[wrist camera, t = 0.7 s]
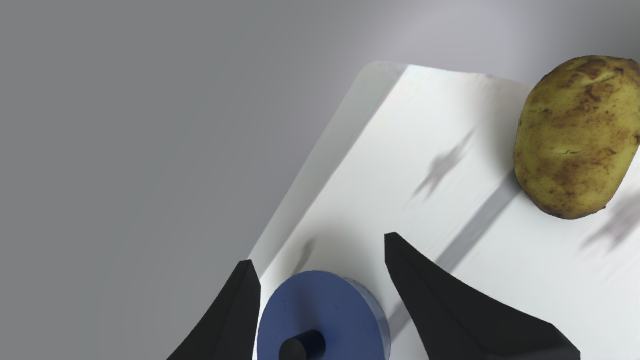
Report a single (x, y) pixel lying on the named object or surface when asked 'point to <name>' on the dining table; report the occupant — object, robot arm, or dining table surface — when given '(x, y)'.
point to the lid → (319, 321)
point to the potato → (579, 135)
